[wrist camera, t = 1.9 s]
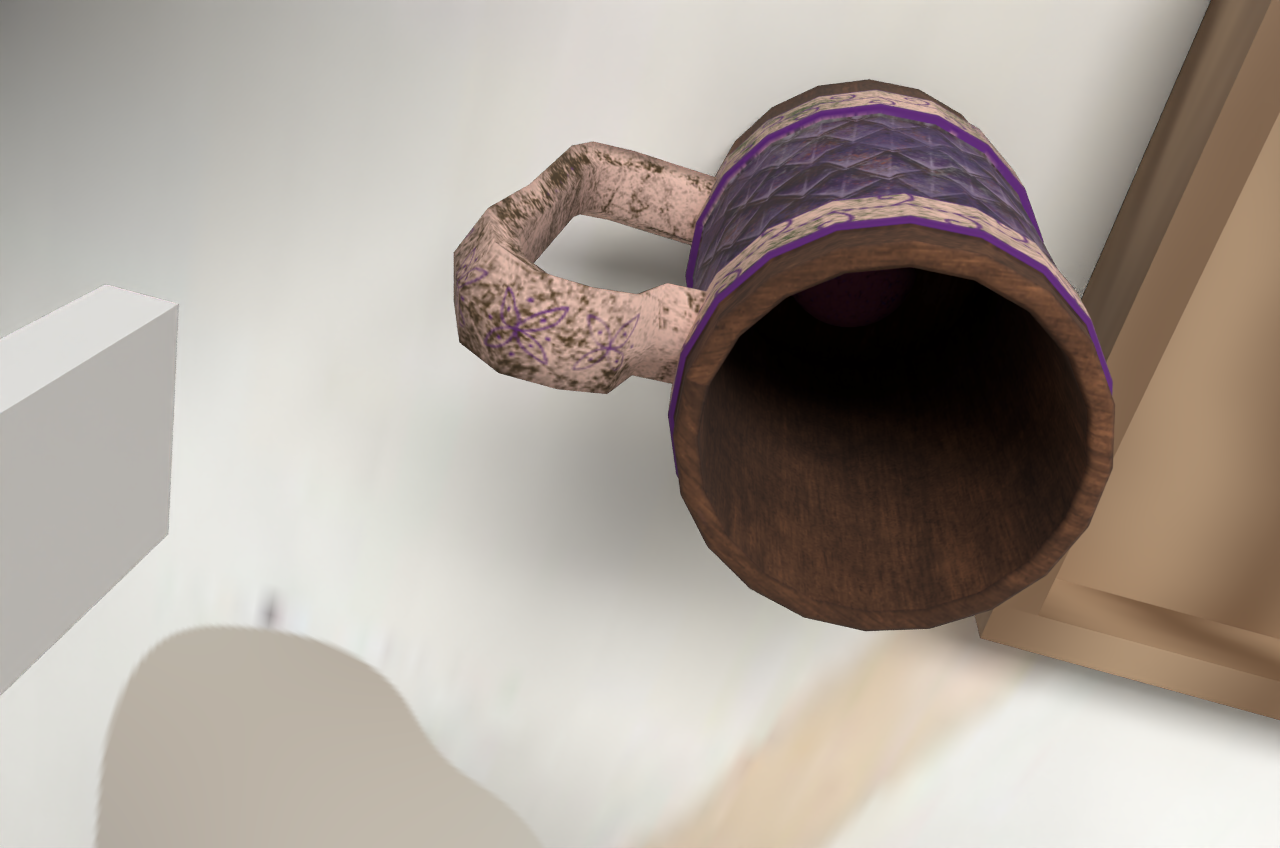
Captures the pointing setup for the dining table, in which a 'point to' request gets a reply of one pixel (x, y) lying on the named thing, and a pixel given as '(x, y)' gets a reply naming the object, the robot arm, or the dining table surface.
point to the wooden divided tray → (1186, 399)
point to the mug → (830, 351)
